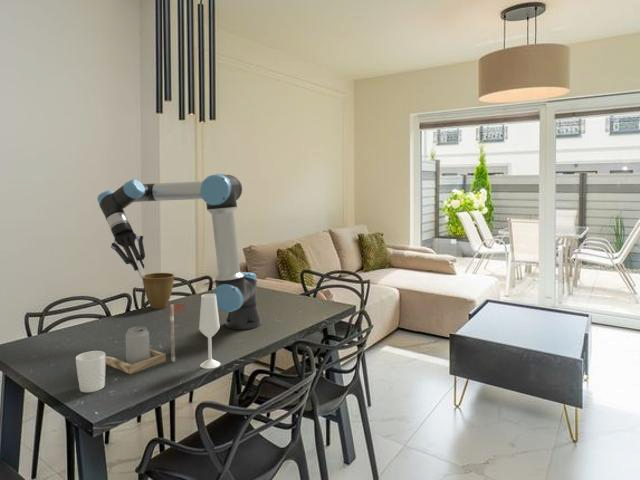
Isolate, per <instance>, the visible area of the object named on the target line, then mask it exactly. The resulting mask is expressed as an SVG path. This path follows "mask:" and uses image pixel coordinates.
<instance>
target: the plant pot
mask: <svg viewBox="0 0 640 480" xmlns="http://www.w3.org/2000/svg"><path fill="white" fill-rule="evenodd" d="M145 274H146V275H145V277H143V278H141V279H142V284H143V288H144V292H145V296H146V299H147V301H148V304H149V306H150V308H151V309H153V310H154V309H155V310H160V309H166V308H168V305H169V301H170V300H171V295H172V292H173V287H174V280H175V274H174V273H169V272H153V273H145Z"/></svg>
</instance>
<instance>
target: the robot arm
mask: <svg viewBox="0 0 640 480" xmlns="http://www.w3.org/2000/svg"><path fill="white" fill-rule="evenodd" d="M242 195H243V186H242V183H241V181H240V180H239V179H238V178H237V177H236V176H234V175H231V174H223V173H215V174H210V175H209V176H207V177H205V179H204V180H202V181H200V180H199V181H180V182H162V183H161V182H160V183H159V182H158V183H157V182H156V183H142V182H141V181H140V180H138V179H136V178H132V179H130V180H129V181H126V182H125V183H124V184H123V185H122V186H120V187H119V188H117V189H116V190H114V191H113V190H105V191H104V192H101V193H99V194H98V196H97V202H98V204H99V205H98V206H99V208H100V210H101V212H102V213H103V216H104V217H105V220H106V222H107V225H108V227H109V228H110V231H111V234H112V236H113V238H114V242H112V243H111V245H110V248H111V249H112V250H114V251H115V252H116V253H117V254H118V255H119V257H120V259H121V260H123V262H124V264H126V265H128V264H129V265H130V266H132V268H133V270H134V272H136V271H137V274H138V276H139V278H140V279H142V278H143V277H145V275H146V274H147V273H146V271H145V264H144V262H143V261H144V259H145V258H146V253H145V249H144V243H143V239H144V235H137V234H136V233H135V232H134V229H133V228H132V225H131V223H130V221H129V219H128V217H127V215H126V213H125V210H124V209H125V208H127V207H129V206H130V205H131V204H133V203H140V202H141V203H142V202H159V201H162V202H163V201H165V202H166V201H187V200H188V201H190V200H191V201H192V200H203V201H204V202H205V205H206V210H207V212H209V213H210V215H211V221H212V230H213V239H214V240H213V241H214V248H215V256H216V264H217V275H216V276H215V278H214V281H215V282H214V284H215V289H214V290H213V292H212V294H215V295H216V299H217V307H218V310H220V311H223V312H226V313H227V315H226V319H225V326H226V327H227V328H229V329H233V330H251V329H255V328H257V327H259V325H260V324H262V318H261V315H260V312H259V310H258V309H259V308H258V306H257V305H258V304H257V300H258V299H257V298H258V297H257V294H258V293H257V292H258V291H257V288H258V285H257V284H258V280H257V274H256V273H254V272H249V271H248V272H247V271H246V272H245V271H241V268H240V259H239V258H240V257H239V251H238V242H237V241H238V240H237V231H236V223H235V214H234V213H235V210H237V208H238V206H237V204H238V203H237V201H238V200H239V199H240V198H241V196H242ZM136 241H137V243H138V244H137V245H138V249H137V246H136ZM121 247H122V248H123V249H122V248H121ZM123 250H124V251H125V252H124V251H123ZM260 326H261V325H260Z"/></svg>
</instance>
